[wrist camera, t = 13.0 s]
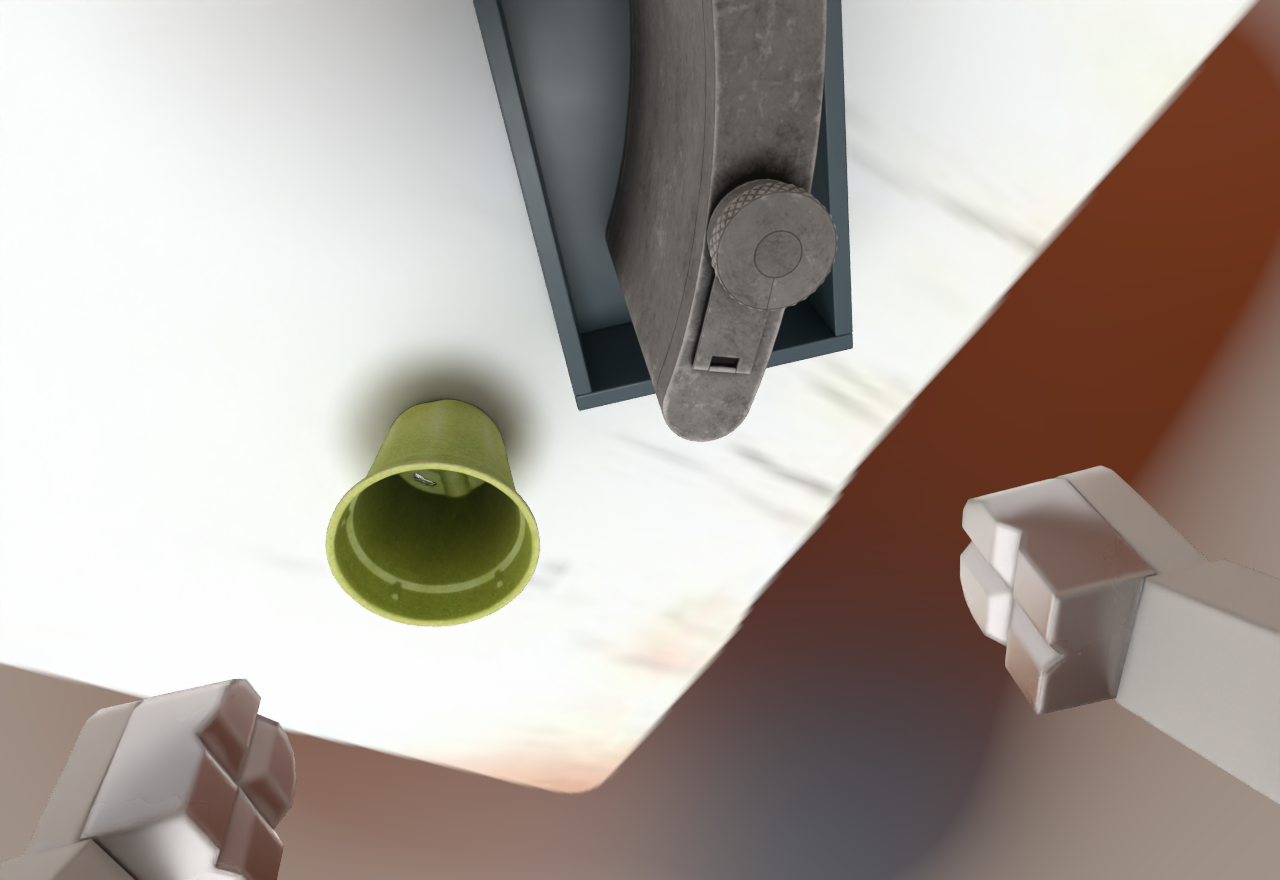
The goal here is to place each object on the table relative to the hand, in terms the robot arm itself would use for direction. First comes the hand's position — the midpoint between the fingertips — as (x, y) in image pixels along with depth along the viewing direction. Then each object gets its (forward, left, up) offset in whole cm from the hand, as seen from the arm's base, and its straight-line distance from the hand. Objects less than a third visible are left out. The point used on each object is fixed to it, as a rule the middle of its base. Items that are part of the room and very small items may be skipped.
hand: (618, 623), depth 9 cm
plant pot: (+17, -9, -32) cm, 37 cm away
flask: (+2, +5, -31) cm, 32 cm away
